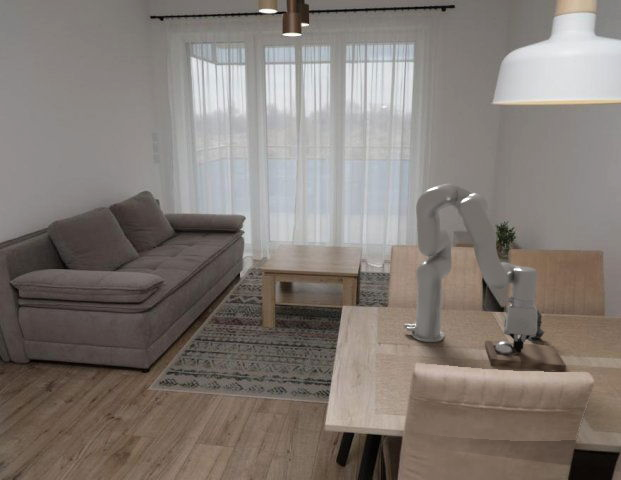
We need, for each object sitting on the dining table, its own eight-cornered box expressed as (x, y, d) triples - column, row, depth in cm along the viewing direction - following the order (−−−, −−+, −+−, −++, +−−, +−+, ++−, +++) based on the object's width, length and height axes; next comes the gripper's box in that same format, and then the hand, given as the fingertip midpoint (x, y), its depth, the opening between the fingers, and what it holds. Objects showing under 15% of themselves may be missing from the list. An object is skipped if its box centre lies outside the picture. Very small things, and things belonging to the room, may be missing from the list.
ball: (517, 357, 173) (500, 363, 174) (514, 350, 178) (497, 355, 180) (510, 343, 172) (494, 348, 174) (507, 335, 178) (491, 341, 179)
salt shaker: (544, 343, 188) (548, 314, 185) (528, 342, 189) (531, 312, 186) (540, 336, 193) (544, 308, 190) (525, 335, 194) (528, 307, 192)
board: (490, 365, 171) (491, 358, 170) (484, 346, 185) (485, 340, 184) (565, 372, 166) (565, 365, 165) (553, 352, 180) (553, 346, 180)
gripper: (502, 304, 169) (497, 353, 173) (548, 307, 166) (542, 357, 170) (498, 297, 176) (494, 344, 180) (542, 299, 173) (537, 347, 177)
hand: (517, 350), depth 175 cm, fingers closed
